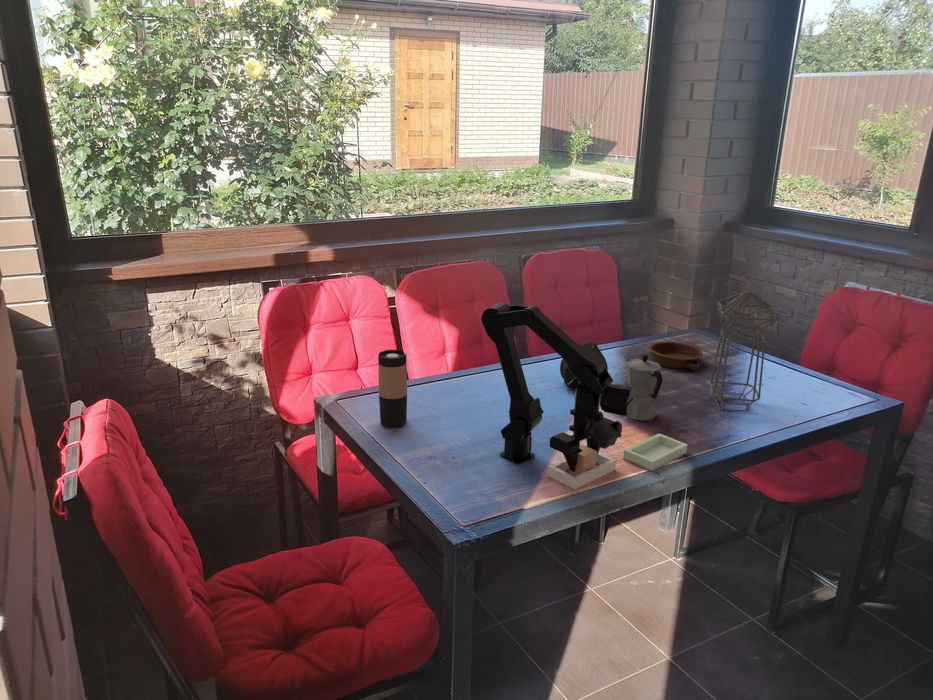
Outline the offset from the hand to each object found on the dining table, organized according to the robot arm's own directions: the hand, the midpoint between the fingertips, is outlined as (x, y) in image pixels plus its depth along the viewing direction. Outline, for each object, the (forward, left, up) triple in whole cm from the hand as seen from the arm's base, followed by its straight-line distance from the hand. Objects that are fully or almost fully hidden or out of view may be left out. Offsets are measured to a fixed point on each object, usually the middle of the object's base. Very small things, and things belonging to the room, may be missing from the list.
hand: (582, 467), depth 178 cm
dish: (+85, +31, -2) cm, 90 cm away
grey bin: (0, 0, -2) cm, 2 cm away
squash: (+44, +37, -2) cm, 57 cm away
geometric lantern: (+66, -2, -2) cm, 66 cm away
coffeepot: (+39, +11, -2) cm, 41 cm away
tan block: (0, 0, -2) cm, 2 cm away
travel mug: (-18, +52, -2) cm, 55 cm away
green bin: (+21, -6, -2) cm, 22 cm away
